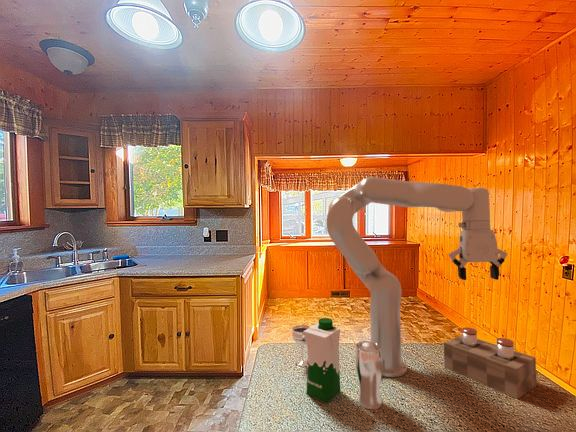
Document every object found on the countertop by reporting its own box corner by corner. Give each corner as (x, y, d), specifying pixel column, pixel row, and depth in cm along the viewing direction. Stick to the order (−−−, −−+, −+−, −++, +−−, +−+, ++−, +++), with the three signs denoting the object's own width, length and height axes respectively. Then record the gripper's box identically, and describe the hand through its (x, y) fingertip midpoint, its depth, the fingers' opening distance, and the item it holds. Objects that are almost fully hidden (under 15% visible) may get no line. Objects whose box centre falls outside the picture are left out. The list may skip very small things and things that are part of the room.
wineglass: (293, 358, 102) (292, 325, 102) (312, 359, 102) (311, 325, 102) (292, 368, 95) (291, 332, 96) (312, 369, 95) (311, 332, 95)
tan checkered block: (517, 399, 77) (516, 369, 77) (444, 367, 94) (443, 342, 94) (536, 385, 83) (535, 357, 83) (464, 357, 100) (464, 334, 100)
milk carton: (344, 391, 82) (343, 321, 83) (327, 407, 76) (325, 331, 76) (319, 380, 88) (317, 315, 88) (301, 394, 81) (299, 323, 82)
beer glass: (383, 396, 79) (382, 342, 79) (383, 413, 73) (381, 353, 73) (357, 392, 82) (356, 339, 82) (355, 407, 75) (353, 350, 75)
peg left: (473, 357, 90) (472, 333, 90) (460, 352, 94) (459, 329, 94) (480, 353, 92) (479, 330, 92) (467, 349, 96) (466, 326, 96)
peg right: (510, 371, 82) (509, 344, 82) (494, 365, 85) (493, 339, 85) (517, 367, 84) (516, 341, 84) (501, 361, 87) (500, 336, 87)
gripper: (453, 227, 90) (455, 282, 90) (512, 225, 89) (515, 281, 88) (443, 226, 98) (445, 277, 98) (497, 225, 96) (499, 276, 96)
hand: (478, 279), depth 93 cm, fingers open, 9 cm apart
